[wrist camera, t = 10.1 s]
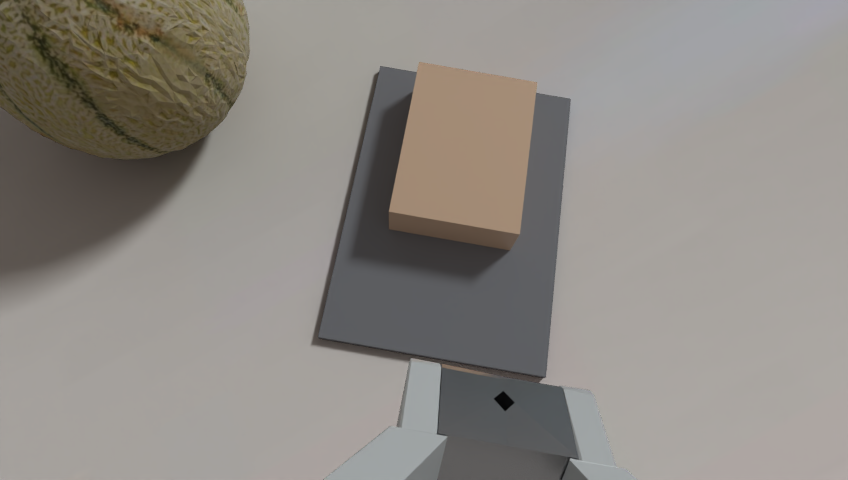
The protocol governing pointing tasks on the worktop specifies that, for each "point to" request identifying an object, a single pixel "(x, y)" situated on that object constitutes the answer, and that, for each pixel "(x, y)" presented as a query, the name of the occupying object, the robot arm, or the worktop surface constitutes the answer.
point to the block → (464, 157)
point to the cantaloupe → (122, 71)
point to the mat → (447, 256)
